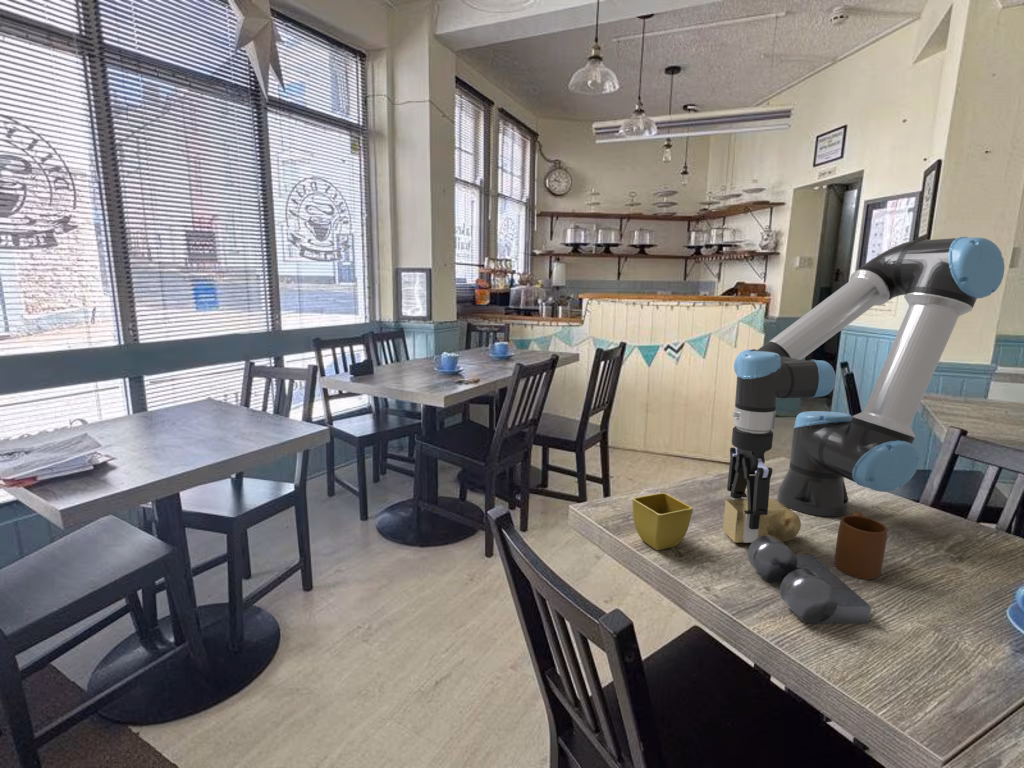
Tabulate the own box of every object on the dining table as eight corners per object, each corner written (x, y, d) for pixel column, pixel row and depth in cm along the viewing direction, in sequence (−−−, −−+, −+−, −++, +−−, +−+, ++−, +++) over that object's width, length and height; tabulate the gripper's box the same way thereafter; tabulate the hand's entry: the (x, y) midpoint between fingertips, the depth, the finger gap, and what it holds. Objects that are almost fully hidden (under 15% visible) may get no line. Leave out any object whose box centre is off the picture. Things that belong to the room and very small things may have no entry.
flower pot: (661, 530, 116) (664, 491, 114) (690, 549, 108) (694, 507, 106) (628, 538, 112) (631, 498, 111) (656, 558, 105) (659, 515, 103)
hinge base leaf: (810, 569, 101) (815, 535, 100) (868, 623, 86) (874, 583, 84) (745, 569, 101) (749, 535, 100) (791, 623, 85) (797, 583, 84)
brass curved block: (784, 529, 116) (787, 498, 115) (798, 541, 110) (802, 510, 109) (722, 529, 115) (725, 499, 114) (734, 542, 110) (737, 510, 109)
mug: (829, 545, 111) (836, 503, 109) (873, 554, 107) (880, 511, 106) (835, 574, 100) (842, 527, 98) (883, 584, 97) (892, 536, 95)
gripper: (715, 416, 117) (708, 514, 122) (756, 442, 99) (745, 557, 104) (749, 416, 117) (740, 514, 122) (796, 442, 99) (783, 556, 104)
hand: (742, 533), depth 113 cm, fingers closed on brass curved block, 6 cm apart
